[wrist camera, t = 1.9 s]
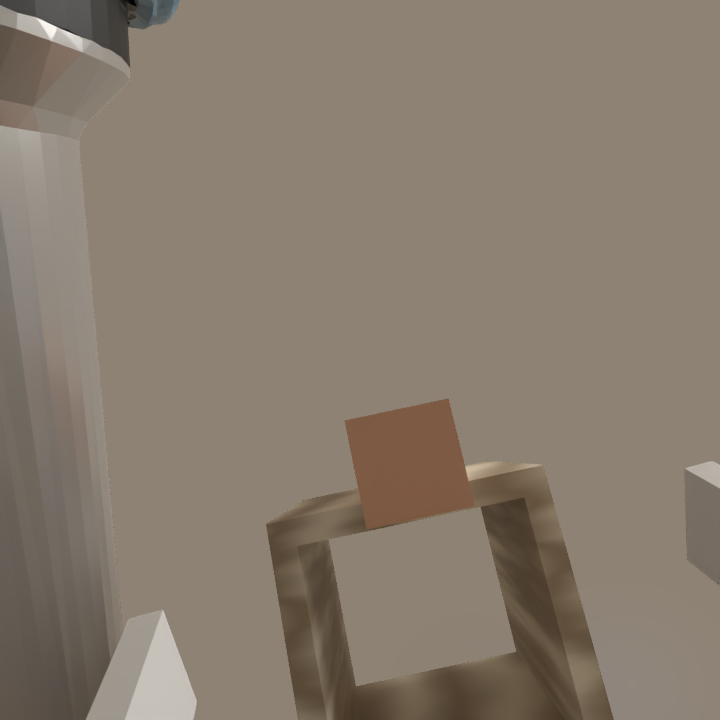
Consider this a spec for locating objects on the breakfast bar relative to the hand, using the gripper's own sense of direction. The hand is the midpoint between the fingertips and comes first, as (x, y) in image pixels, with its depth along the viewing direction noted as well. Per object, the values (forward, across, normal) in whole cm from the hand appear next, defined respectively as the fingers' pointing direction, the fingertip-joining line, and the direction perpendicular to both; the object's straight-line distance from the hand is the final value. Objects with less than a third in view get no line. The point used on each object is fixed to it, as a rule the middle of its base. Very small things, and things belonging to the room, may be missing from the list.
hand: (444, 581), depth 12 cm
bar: (+16, +2, -7) cm, 18 cm away
